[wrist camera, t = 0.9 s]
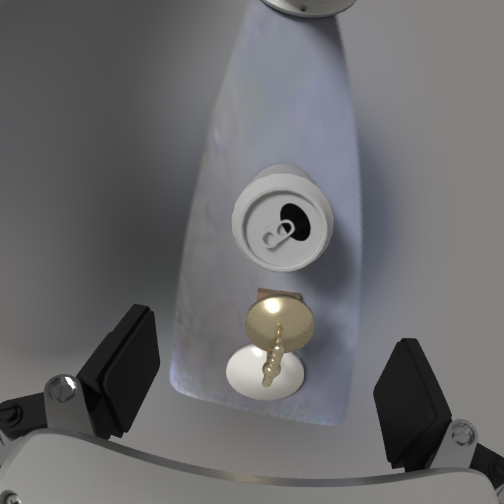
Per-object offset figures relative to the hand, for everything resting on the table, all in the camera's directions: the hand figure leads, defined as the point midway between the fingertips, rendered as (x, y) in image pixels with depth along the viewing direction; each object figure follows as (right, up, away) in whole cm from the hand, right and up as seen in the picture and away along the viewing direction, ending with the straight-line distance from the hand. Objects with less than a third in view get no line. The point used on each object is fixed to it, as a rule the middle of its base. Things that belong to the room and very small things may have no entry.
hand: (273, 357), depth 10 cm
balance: (+2, -2, +25) cm, 25 cm away
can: (+3, +10, +21) cm, 23 cm away
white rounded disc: (+1, -13, +29) cm, 32 cm away
